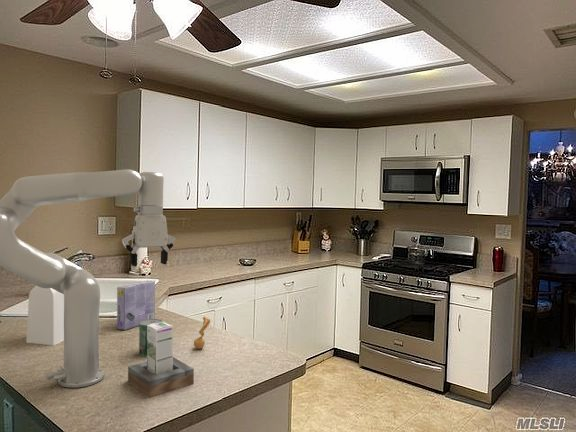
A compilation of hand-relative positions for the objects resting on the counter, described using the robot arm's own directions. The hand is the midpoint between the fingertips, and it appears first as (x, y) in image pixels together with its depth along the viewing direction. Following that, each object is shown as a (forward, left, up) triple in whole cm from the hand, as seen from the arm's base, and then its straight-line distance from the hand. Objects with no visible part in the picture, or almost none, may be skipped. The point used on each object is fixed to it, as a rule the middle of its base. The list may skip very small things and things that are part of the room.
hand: (149, 264), depth 141 cm
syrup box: (-2, -12, -31) cm, 33 cm away
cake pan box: (+18, +48, -34) cm, 61 cm away
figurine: (+23, +5, -34) cm, 41 cm away
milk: (-15, +50, -34) cm, 62 cm away
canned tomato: (+7, +13, -34) cm, 37 cm away
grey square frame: (-2, -12, -34) cm, 36 cm away
